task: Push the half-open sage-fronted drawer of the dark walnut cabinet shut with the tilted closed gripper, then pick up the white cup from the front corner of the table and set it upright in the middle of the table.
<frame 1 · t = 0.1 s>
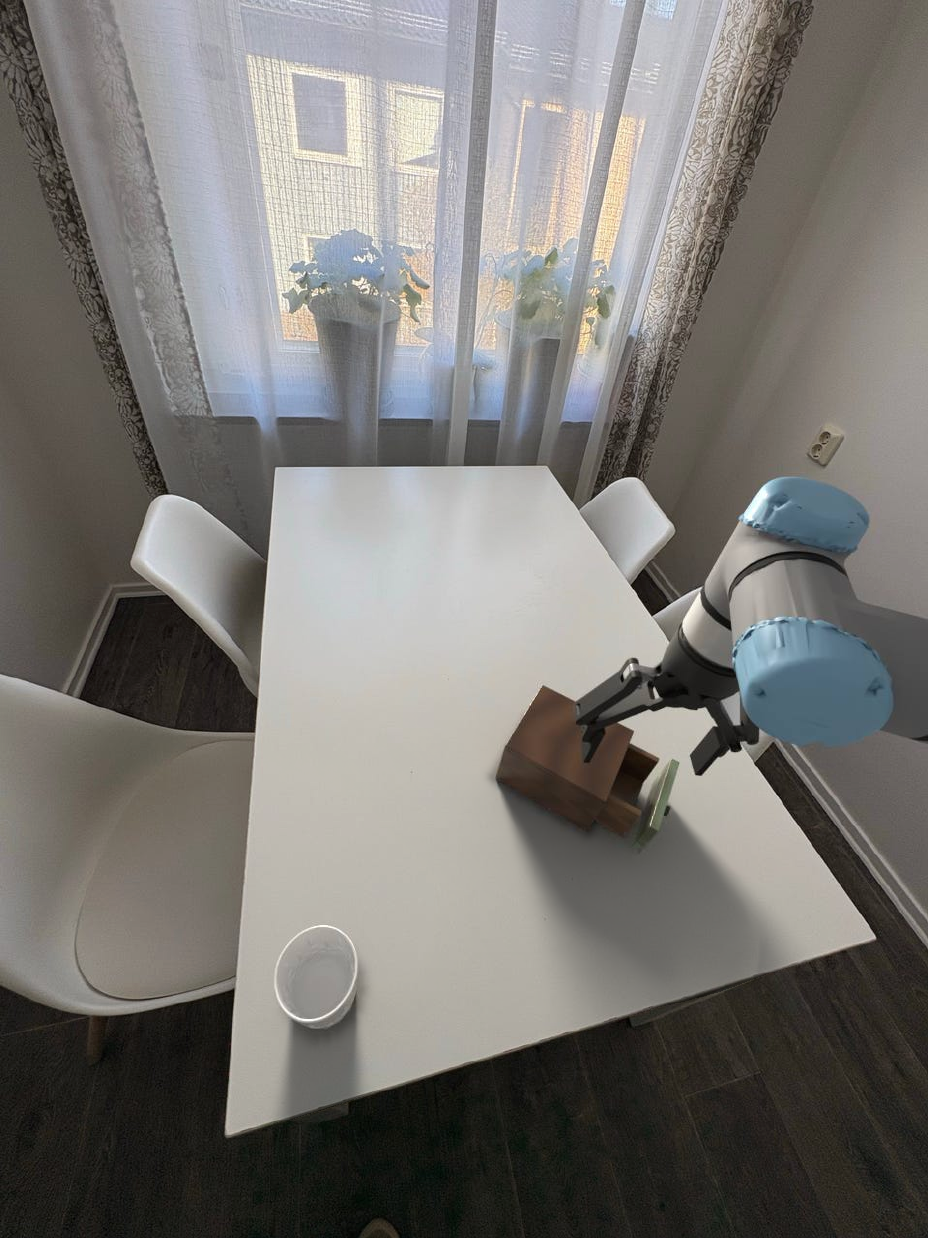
hand: (640, 759, 62), 17 cm above the table, tool pointing down, fingers open, 13 cm apart
cabinet: (556, 770, 79), on the table
white cup: (325, 991, 57), on the table
top drawer: (617, 784, 73), point 5 cm above the table, slide at 6.0 cm
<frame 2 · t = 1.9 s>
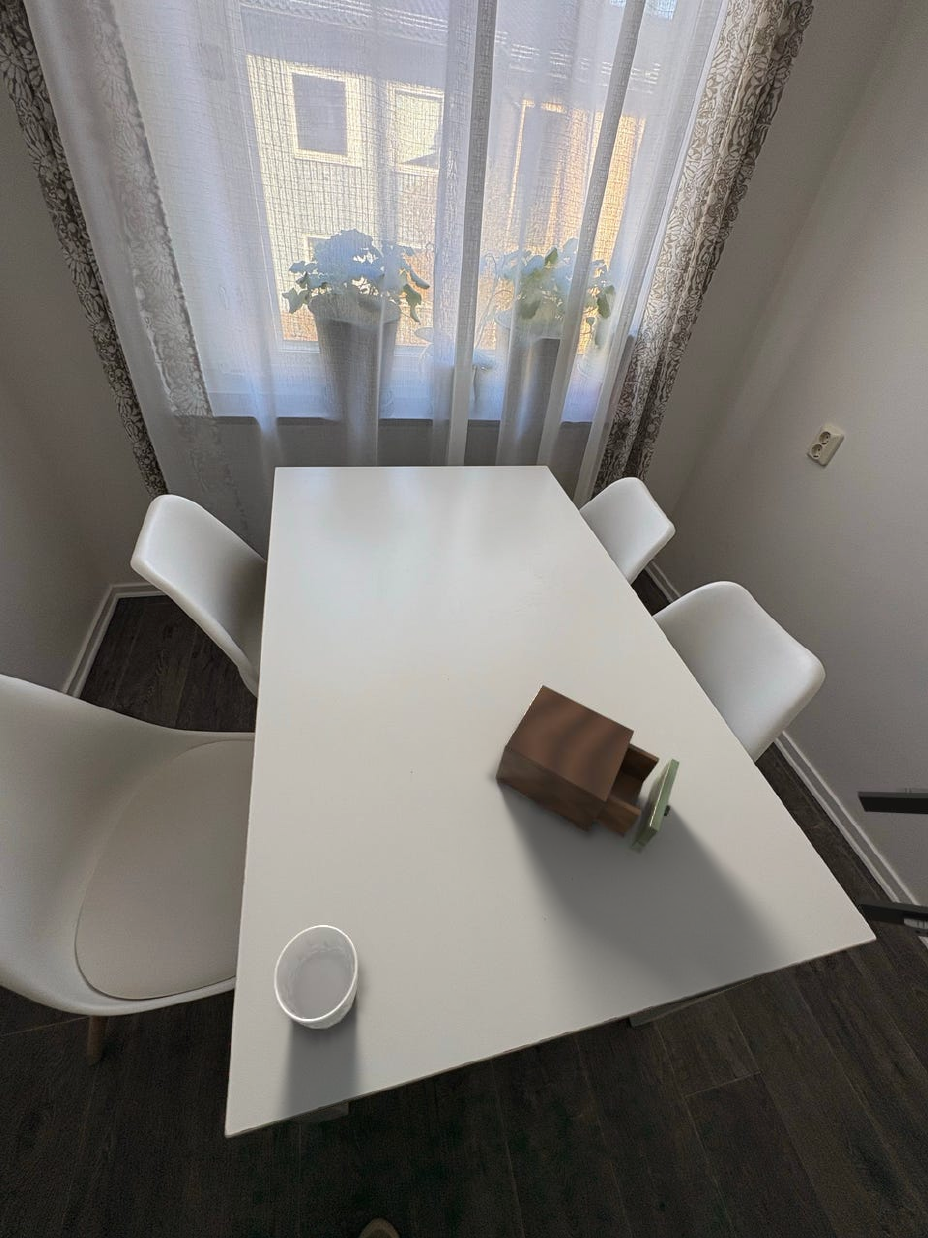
hand: (861, 850, 57), 16 cm above the table, tool tilted 45°, fingers open, 13 cm apart
nothing on the table moved.
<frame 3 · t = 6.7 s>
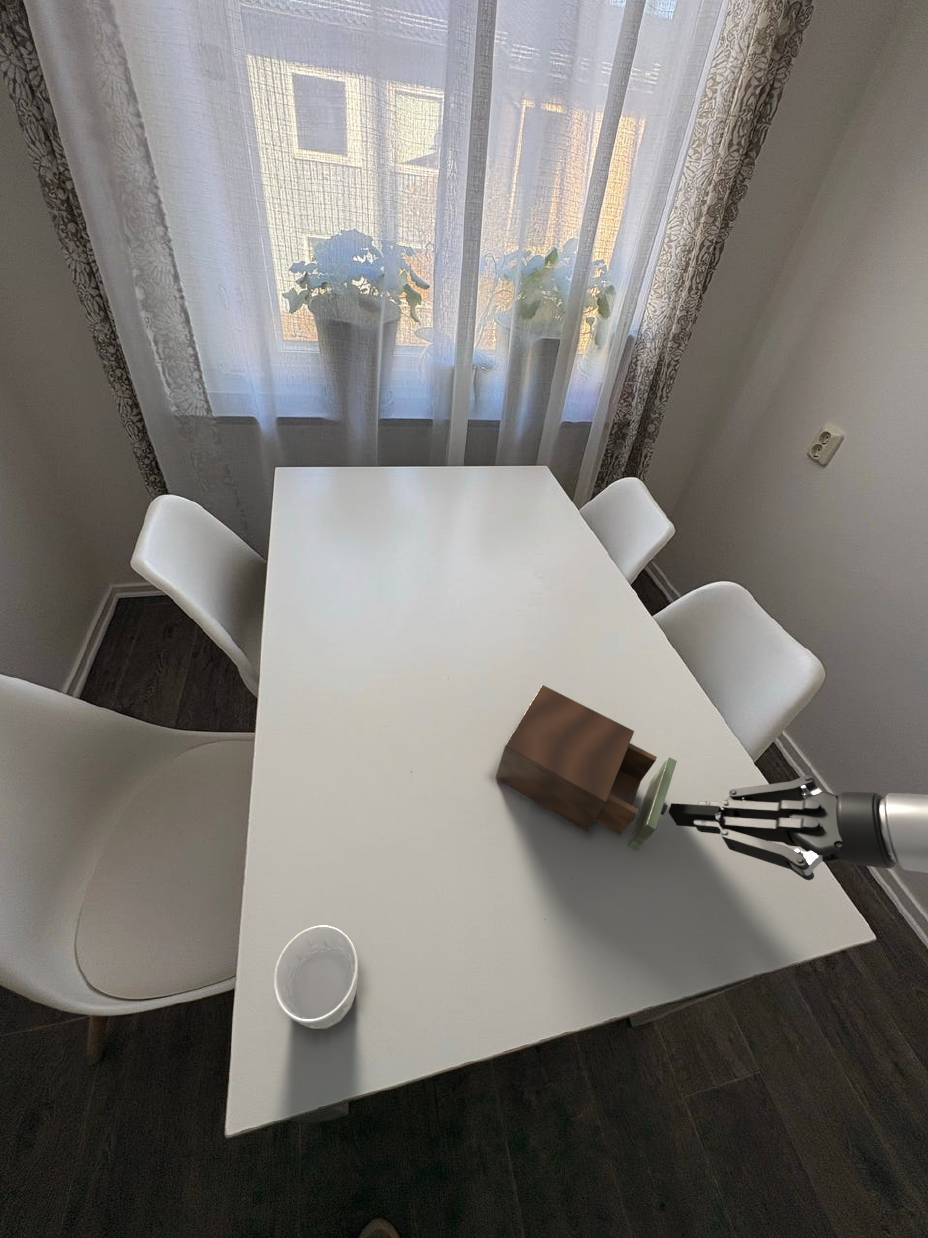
hand: (674, 814, 71), 5 cm above the table, tool tilted 45°, fingers closed
top drawer: (614, 782, 73), point 5 cm above the table, slide at 5.6 cm, touching gripper
everything else where it was.
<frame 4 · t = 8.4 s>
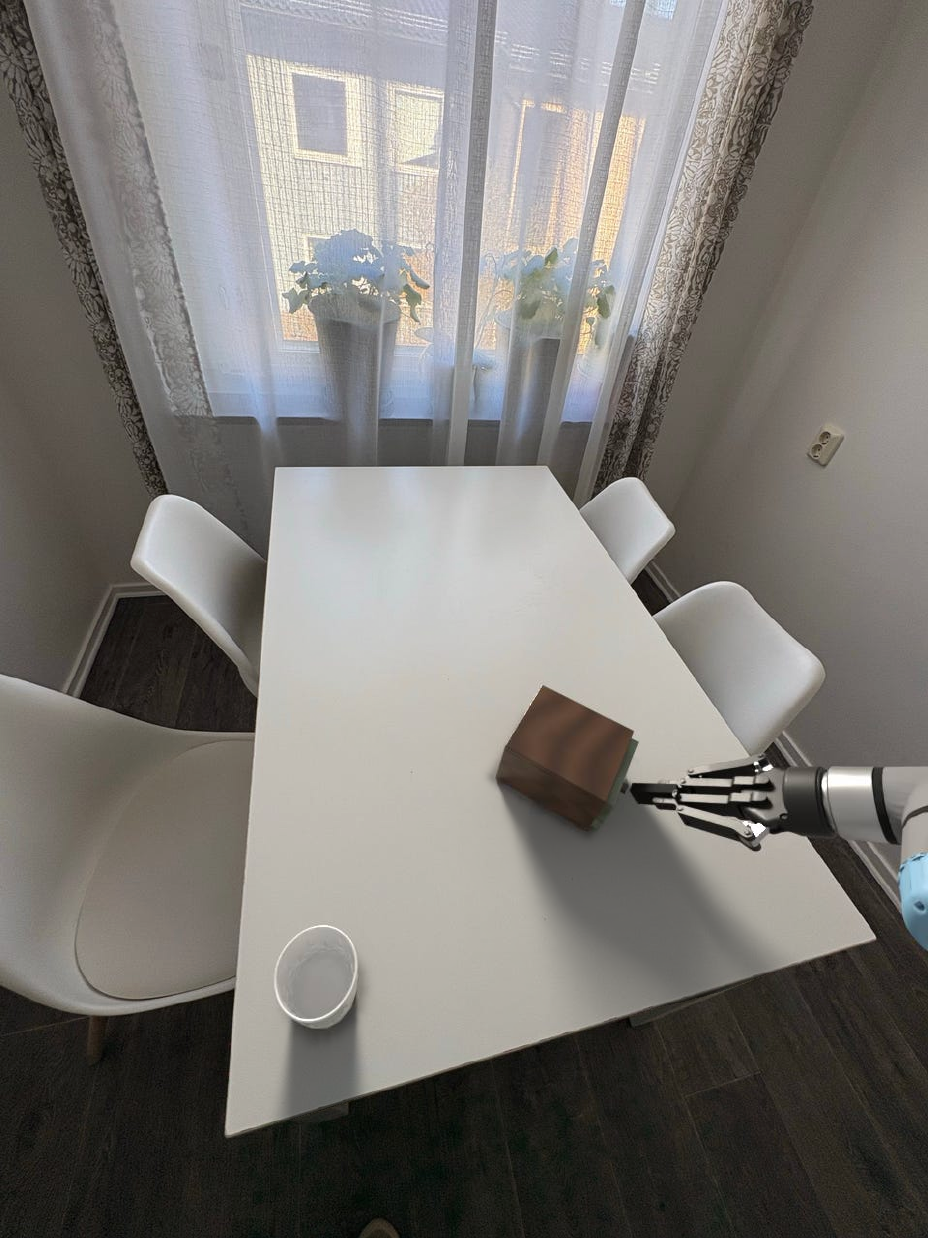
hand: (635, 793, 72), 5 cm above the table, tool tilted 45°, fingers closed
top drawer: (578, 763, 75), point 5 cm above the table, slide at 0.0 cm, touching cabinet, gripper
everything else where it was.
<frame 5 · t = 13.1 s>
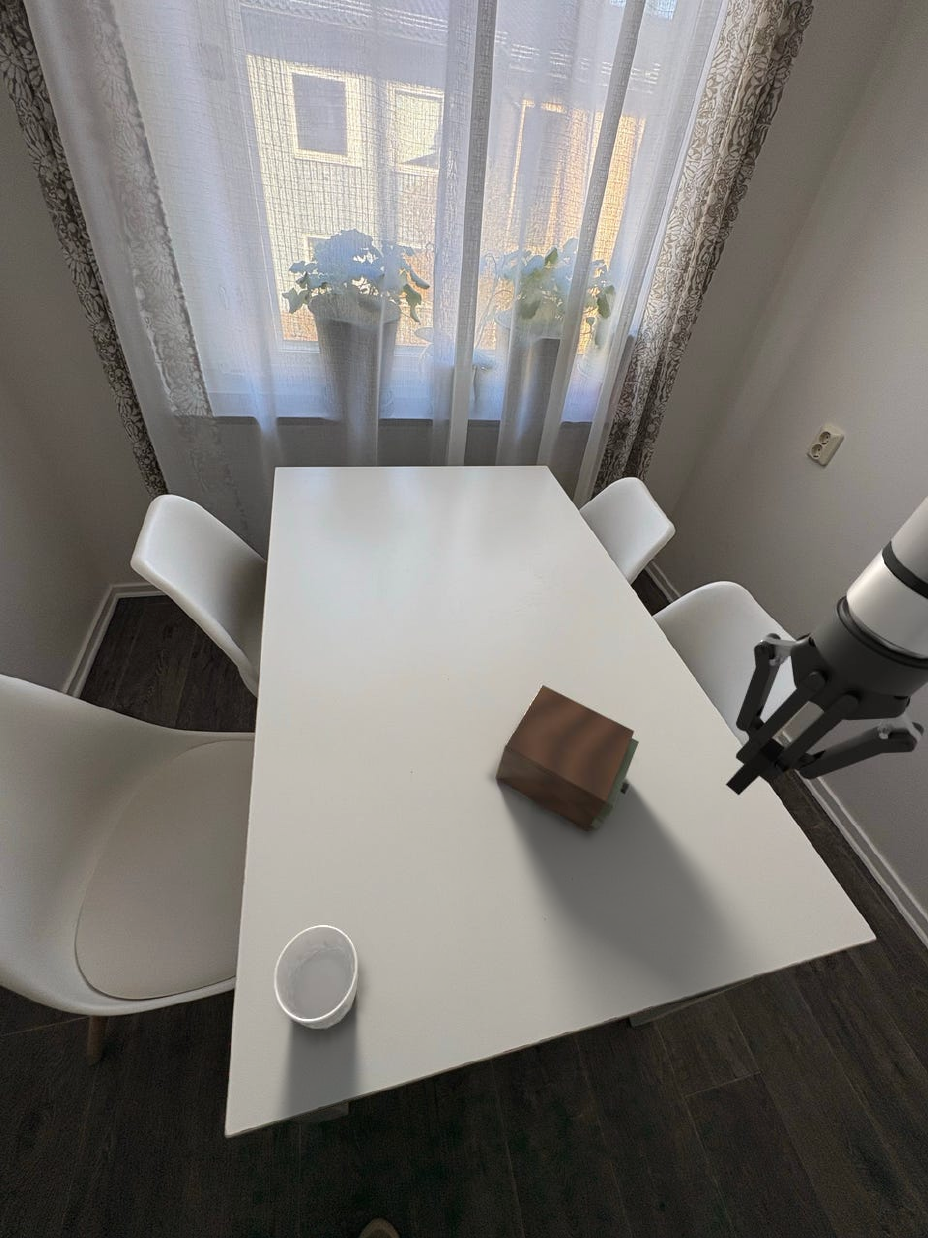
hand: (738, 782, 53), 24 cm above the table, tool pointing down, fingers closed
top drawer: (578, 763, 75), point 5 cm above the table, slide at 0.0 cm, touching cabinet
everything else where it was.
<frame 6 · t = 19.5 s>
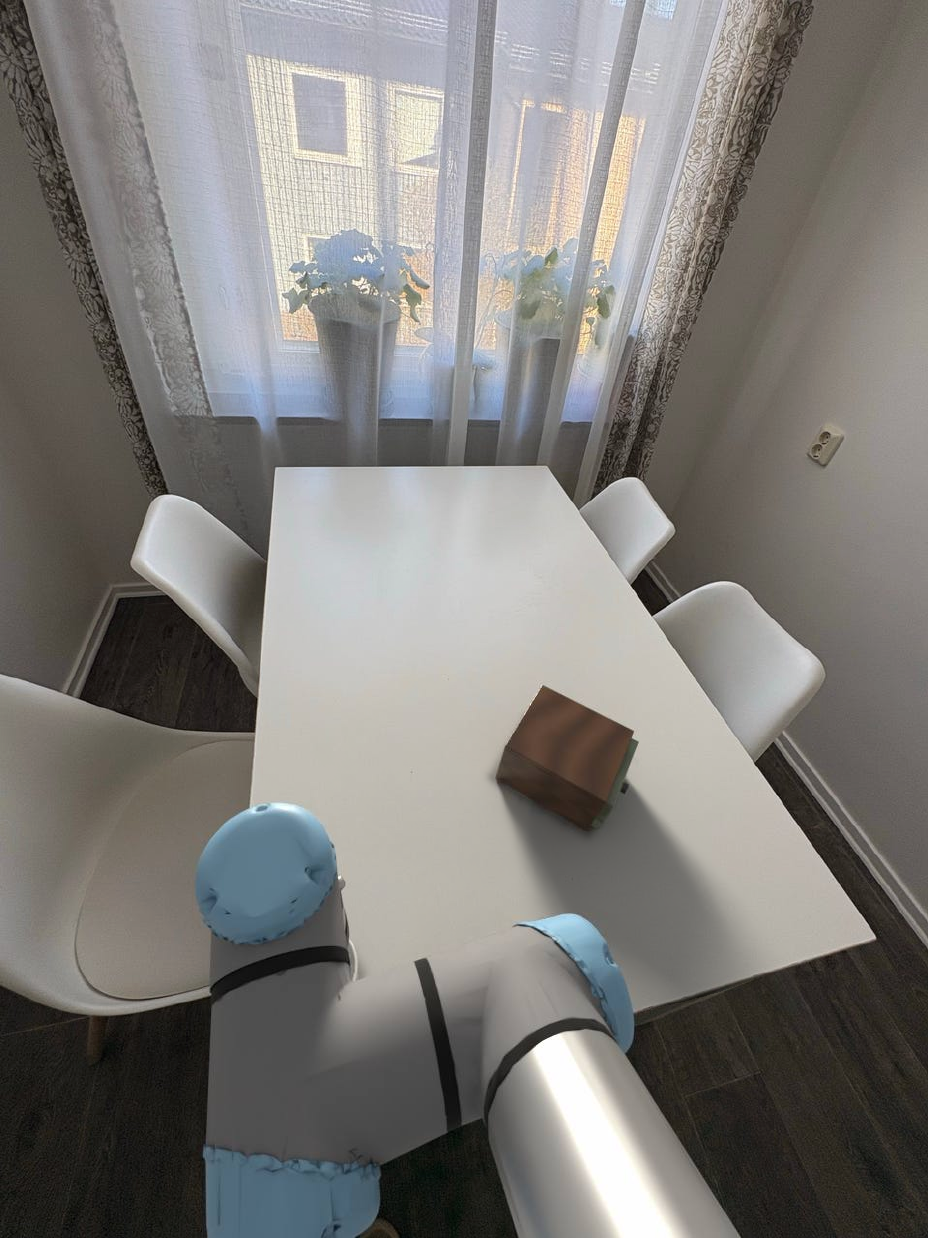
hand: (324, 988, 55), 2 cm above the table, tool pointing down, fingers closed on white cup, 8 cm apart
white cup: (325, 991, 57), on the table, touching gripper
everything else where it was.
when the fingers open (2 cm above the table, at t = 27.2 s): white cup stays where it is, on the table.
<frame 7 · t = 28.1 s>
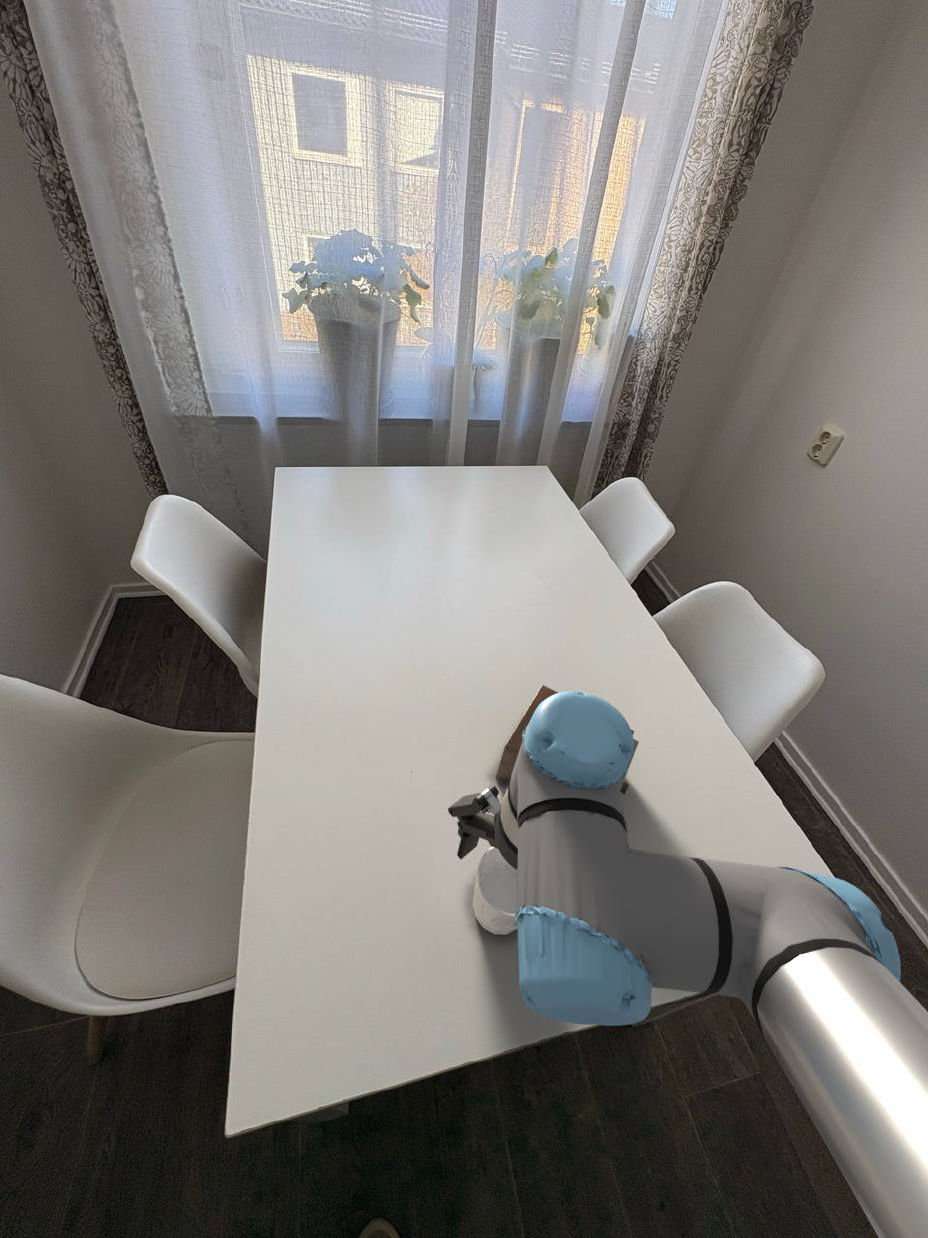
hand: (503, 896, 61), 4 cm above the table, tool pointing down, fingers open, 13 cm apart
white cup: (498, 905, 65), on the table
everything else where it was.
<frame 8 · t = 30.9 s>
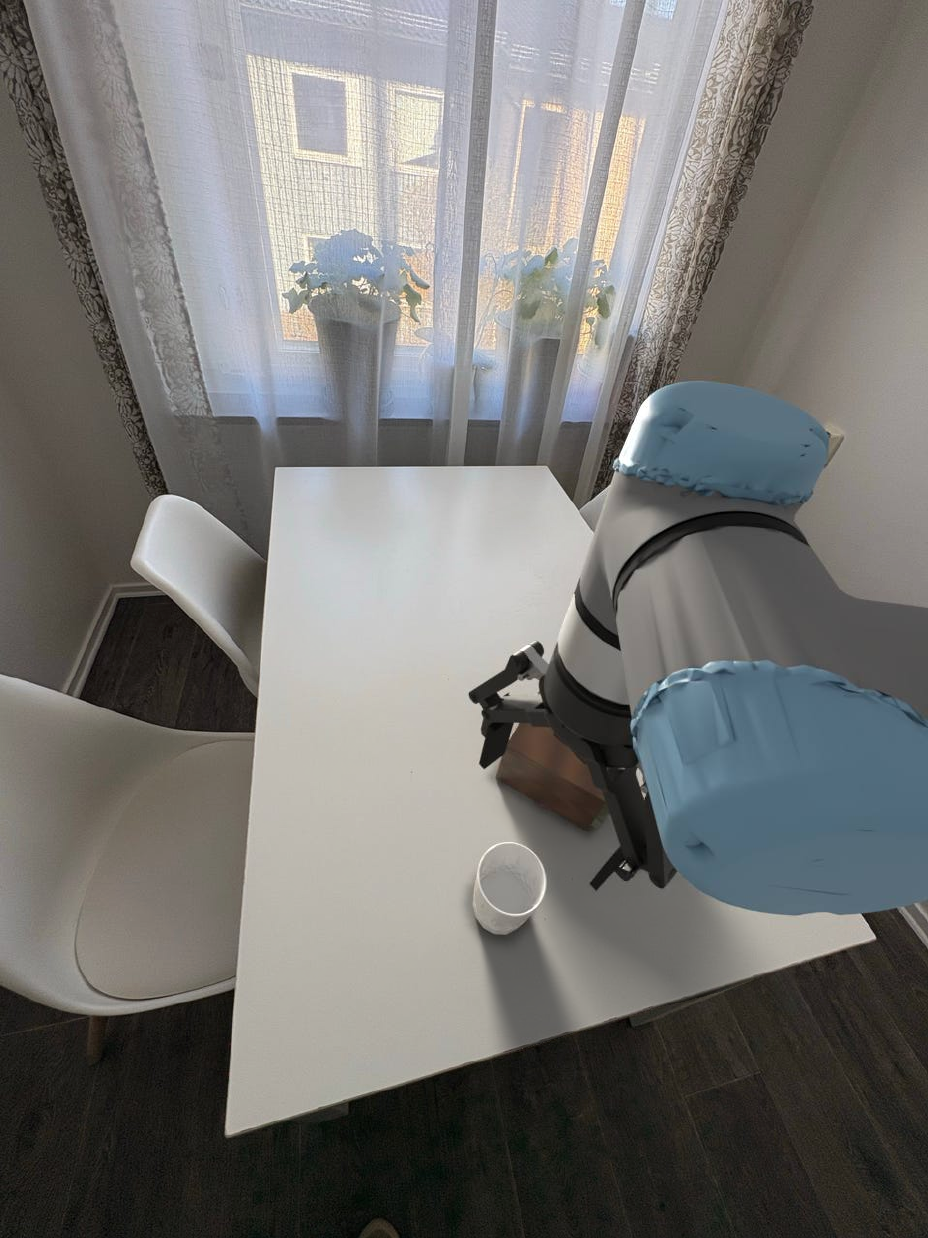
hand: (543, 813, 46), 27 cm above the table, tool pointing down, fingers open, 13 cm apart
nothing on the table moved.
at the end: top drawer slide at 0.0 cm; white cup inside the target area (0.1 cm from its centre), on the table; white cup tilted 0° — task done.
